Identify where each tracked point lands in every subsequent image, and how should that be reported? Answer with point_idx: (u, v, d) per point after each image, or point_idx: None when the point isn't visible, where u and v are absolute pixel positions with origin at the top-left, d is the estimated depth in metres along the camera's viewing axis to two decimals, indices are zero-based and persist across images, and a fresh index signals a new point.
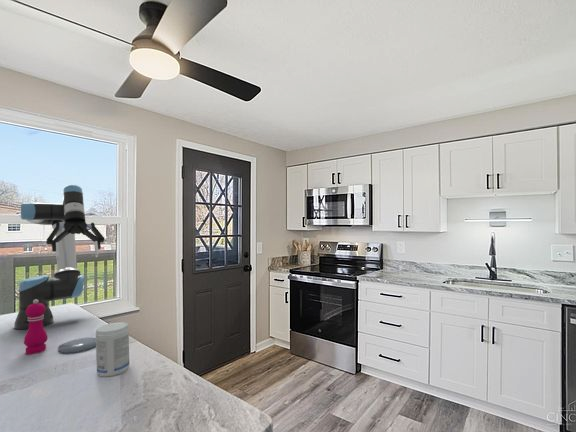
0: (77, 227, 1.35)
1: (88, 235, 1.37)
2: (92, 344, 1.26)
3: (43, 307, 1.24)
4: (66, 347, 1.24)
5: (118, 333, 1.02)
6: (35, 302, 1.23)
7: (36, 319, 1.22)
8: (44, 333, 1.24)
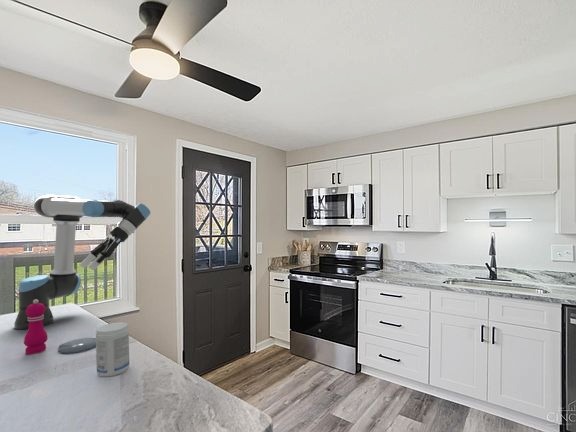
0: None
1: (101, 249, 1.45)
2: (92, 344, 1.26)
3: (43, 307, 1.24)
4: (66, 347, 1.24)
5: (118, 333, 1.02)
6: (35, 302, 1.23)
7: (36, 319, 1.22)
8: (44, 333, 1.24)
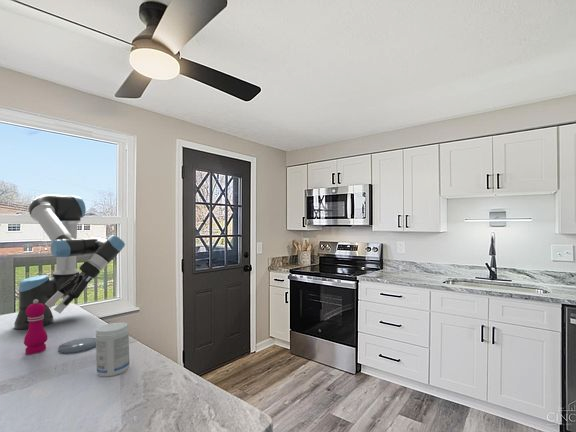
0: None
1: (70, 286, 1.35)
2: (92, 344, 1.26)
3: (43, 307, 1.24)
4: (66, 347, 1.24)
5: (118, 333, 1.02)
6: (35, 302, 1.23)
7: (36, 319, 1.22)
8: (44, 333, 1.24)
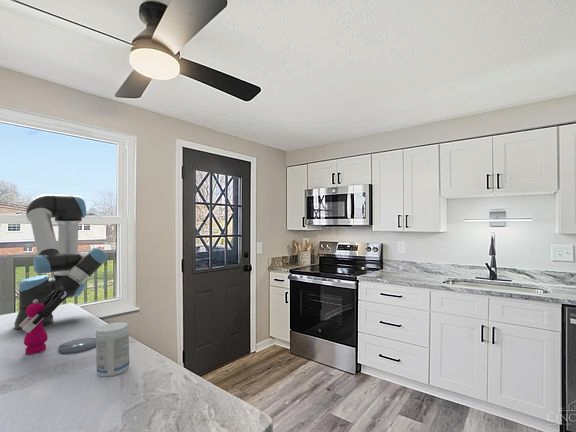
0: None
1: (48, 303, 1.29)
2: (92, 344, 1.26)
3: (43, 307, 1.24)
4: (66, 347, 1.24)
5: (118, 333, 1.02)
6: (35, 302, 1.23)
7: None
8: (44, 333, 1.24)
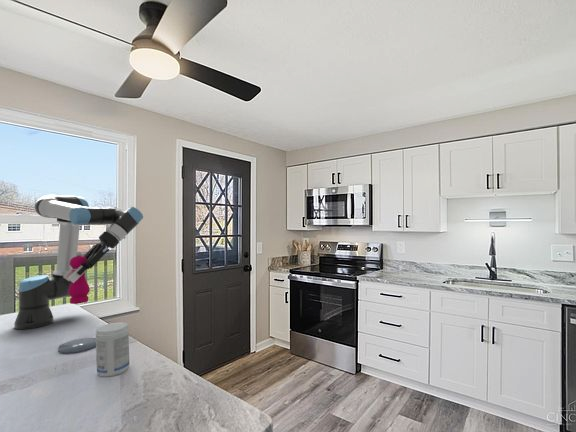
0: None
1: None
2: (92, 344, 1.26)
3: (86, 260, 1.28)
4: (66, 347, 1.24)
5: (118, 333, 1.02)
6: (78, 254, 1.27)
7: None
8: (87, 285, 1.28)
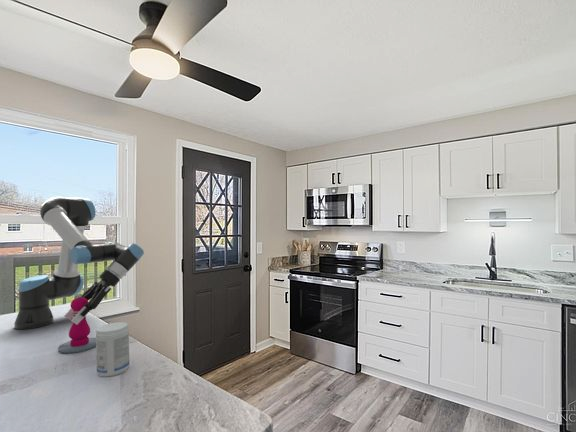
0: None
1: (89, 296, 1.33)
2: (92, 344, 1.26)
3: (86, 301, 1.28)
4: (66, 347, 1.24)
5: (118, 333, 1.02)
6: (79, 296, 1.27)
7: None
8: (87, 326, 1.28)
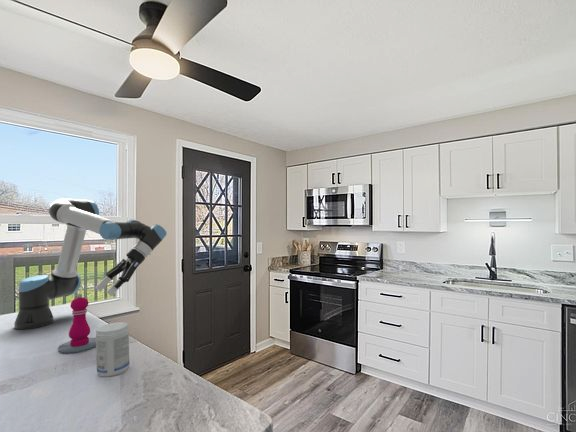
0: None
1: (117, 271, 1.42)
2: (92, 344, 1.26)
3: (86, 301, 1.28)
4: (66, 347, 1.24)
5: (118, 333, 1.02)
6: (79, 296, 1.27)
7: (80, 313, 1.26)
8: (87, 326, 1.28)
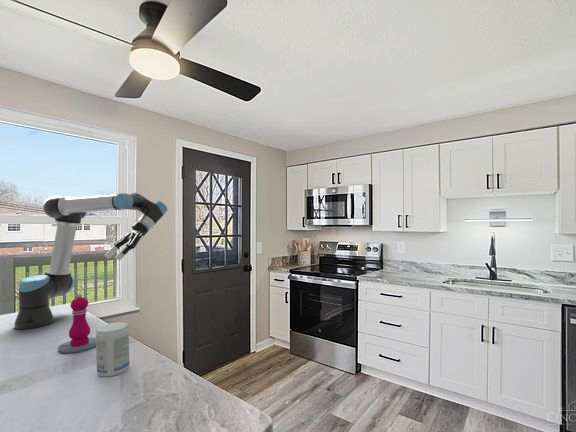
0: None
1: (124, 242, 1.60)
2: (92, 344, 1.26)
3: (86, 301, 1.28)
4: (66, 347, 1.24)
5: (118, 333, 1.02)
6: (79, 296, 1.27)
7: (80, 313, 1.26)
8: (87, 326, 1.28)
